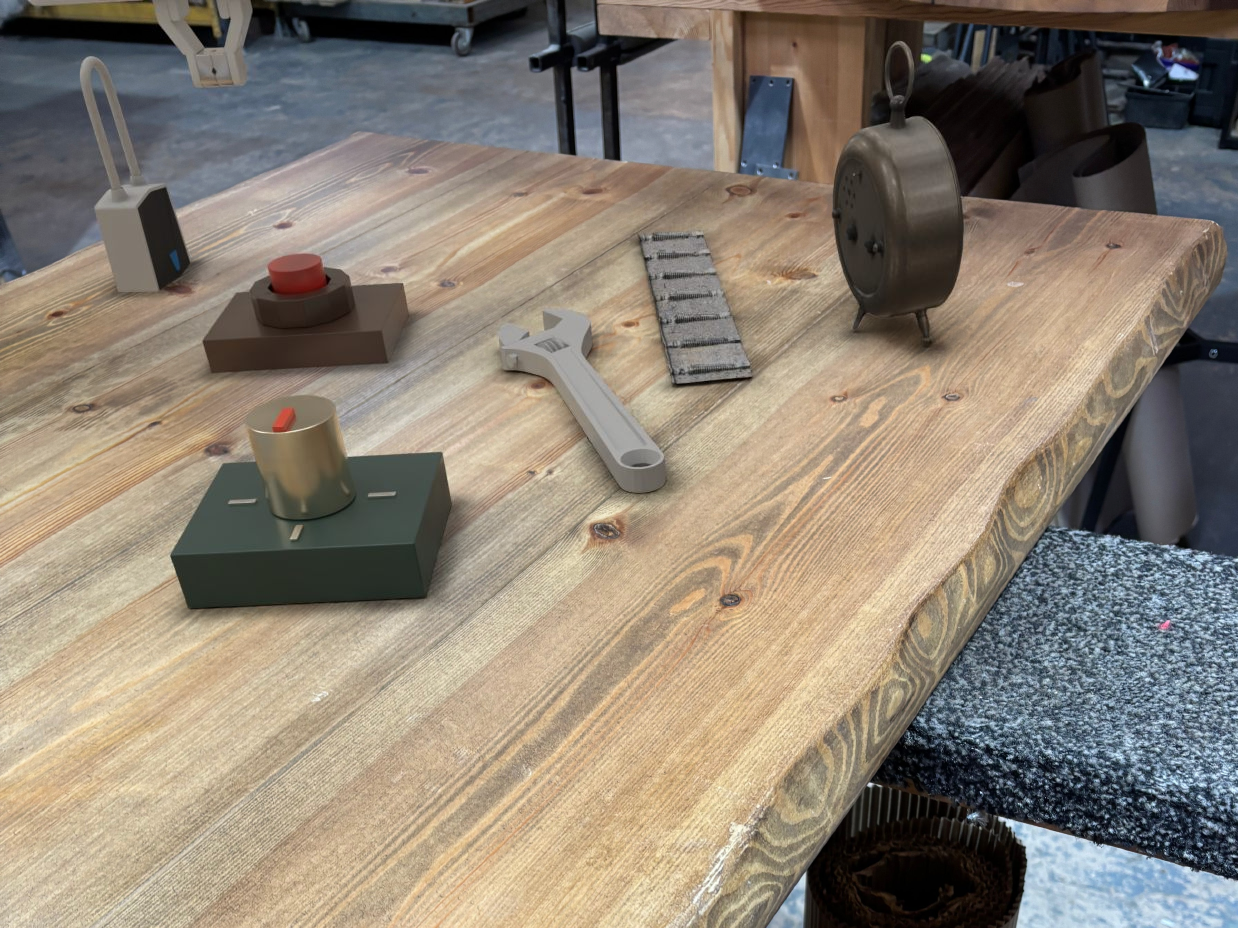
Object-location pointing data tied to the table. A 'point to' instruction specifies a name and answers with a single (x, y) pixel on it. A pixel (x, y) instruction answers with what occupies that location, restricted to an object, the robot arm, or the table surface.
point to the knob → (301, 456)
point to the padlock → (133, 208)
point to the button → (297, 274)
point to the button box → (307, 326)
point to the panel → (316, 538)
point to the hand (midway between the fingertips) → (222, 84)
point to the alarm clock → (898, 214)
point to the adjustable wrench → (586, 395)
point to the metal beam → (692, 309)
